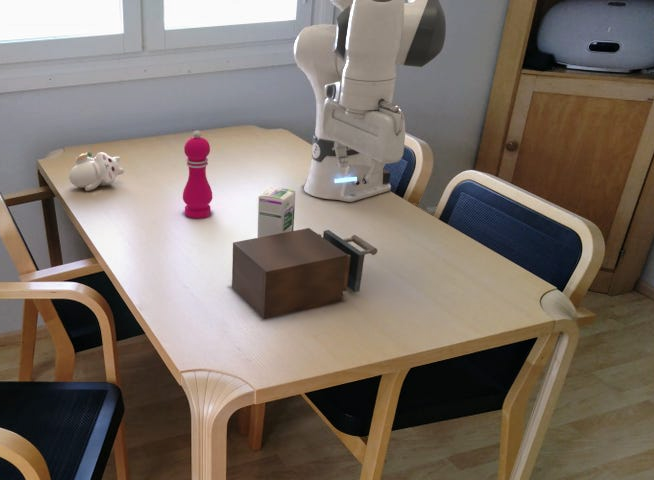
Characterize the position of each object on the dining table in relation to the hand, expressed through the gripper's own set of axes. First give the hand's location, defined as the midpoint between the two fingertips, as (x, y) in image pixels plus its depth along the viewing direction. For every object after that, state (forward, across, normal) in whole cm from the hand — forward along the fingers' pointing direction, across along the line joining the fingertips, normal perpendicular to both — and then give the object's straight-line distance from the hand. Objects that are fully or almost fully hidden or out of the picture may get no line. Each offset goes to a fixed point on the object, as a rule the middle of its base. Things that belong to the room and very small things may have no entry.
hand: (356, 174), depth 123 cm
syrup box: (+22, +15, +7) cm, 27 cm away
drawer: (+21, 0, +6) cm, 22 cm away
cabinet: (+22, 0, +13) cm, 25 cm away
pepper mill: (+22, +45, +13) cm, 51 cm away
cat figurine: (+22, +75, +30) cm, 83 cm away
